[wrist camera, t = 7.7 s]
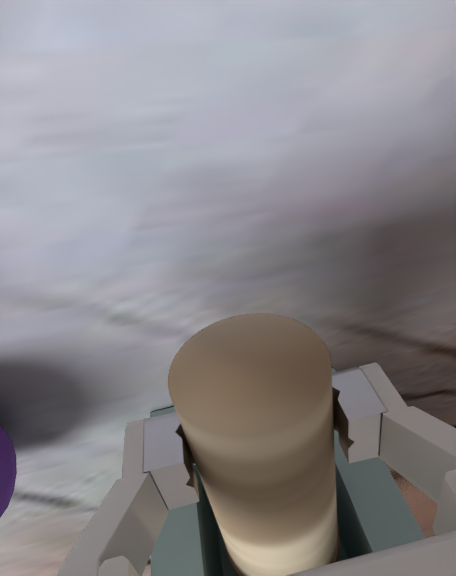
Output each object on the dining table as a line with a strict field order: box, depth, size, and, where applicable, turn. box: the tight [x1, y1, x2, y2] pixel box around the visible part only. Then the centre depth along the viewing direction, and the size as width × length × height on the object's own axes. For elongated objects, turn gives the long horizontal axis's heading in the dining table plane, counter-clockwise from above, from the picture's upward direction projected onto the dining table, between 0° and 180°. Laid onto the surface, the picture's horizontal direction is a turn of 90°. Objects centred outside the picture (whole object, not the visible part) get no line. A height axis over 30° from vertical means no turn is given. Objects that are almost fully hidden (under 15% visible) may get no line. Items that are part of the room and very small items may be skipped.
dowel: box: [168, 313, 340, 576], centre depth 13 cm, size 10×4×4 cm, turn 10°
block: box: [150, 368, 426, 576], centre depth 18 cm, size 8×9×10 cm
